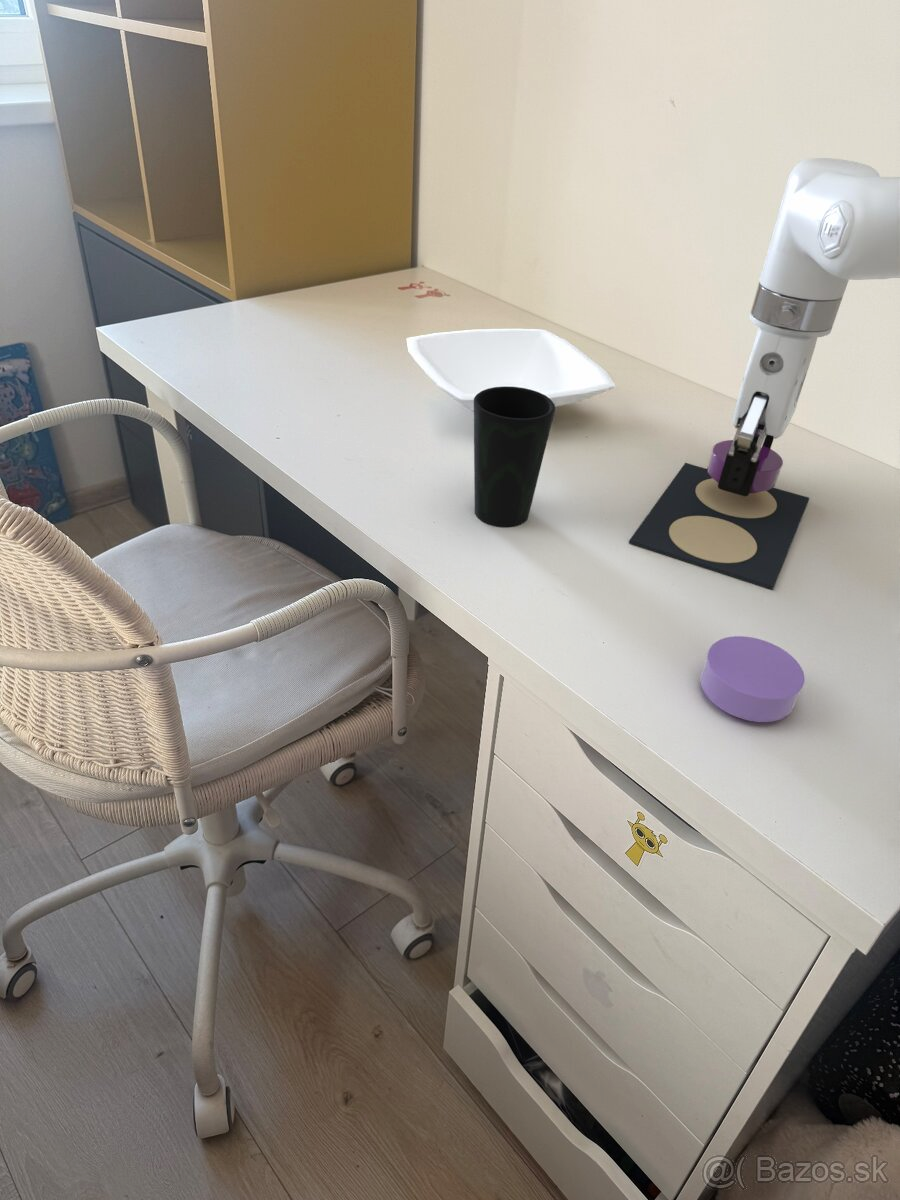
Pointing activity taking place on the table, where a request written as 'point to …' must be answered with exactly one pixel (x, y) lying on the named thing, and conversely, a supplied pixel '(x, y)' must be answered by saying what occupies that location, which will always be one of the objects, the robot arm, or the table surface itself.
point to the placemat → (722, 527)
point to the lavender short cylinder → (751, 678)
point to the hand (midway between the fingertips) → (741, 475)
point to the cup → (508, 452)
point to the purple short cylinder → (765, 472)
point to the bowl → (508, 364)
